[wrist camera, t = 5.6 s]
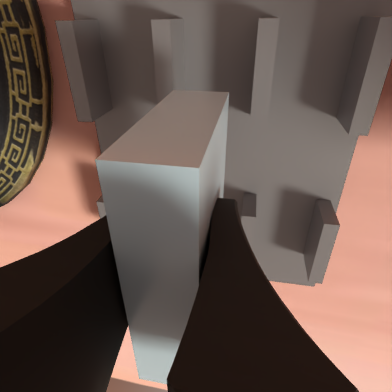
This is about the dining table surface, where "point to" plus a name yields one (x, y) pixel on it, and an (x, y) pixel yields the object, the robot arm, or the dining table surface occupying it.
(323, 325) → the dining table surface
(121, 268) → the grey rectangular block
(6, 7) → the decorative plate
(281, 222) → the grey slotted organizer
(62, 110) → the dining table surface
